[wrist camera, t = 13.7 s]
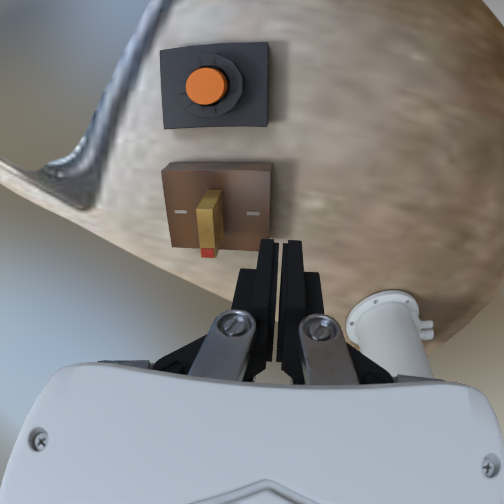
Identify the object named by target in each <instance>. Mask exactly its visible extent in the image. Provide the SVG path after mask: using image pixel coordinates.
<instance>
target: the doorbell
mask: <svg viewBox="0 0 504 504" xmlns="http://www.w3.org/2000/svg"><path fill="white" fill-rule="evenodd" d="M201 68H213V69H216V70H219V71H220V72H222V73H223V74H224V76H225V77H226V80H227V91H226V93H225V95H224V96H223V97H222V98H221V99H220V100H218V101H216V102H214V103H211V104H207V105H201V104H198V103H195V102H194V101H192V100H191V99H190V98H189V96H188V95H187V92H186V82H187V79H188V77H189V76H190V75H191V74H192V73H193V72H194V71H196V70H198V69H201ZM160 72H161V93H162V109H163V122H164V129H177V128H195V127H227V126H255V127H267V125H268V43H267V42H250V43H223V44H209V45H198V46H189V47H180V48H173V49H166V50H160Z"/></svg>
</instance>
